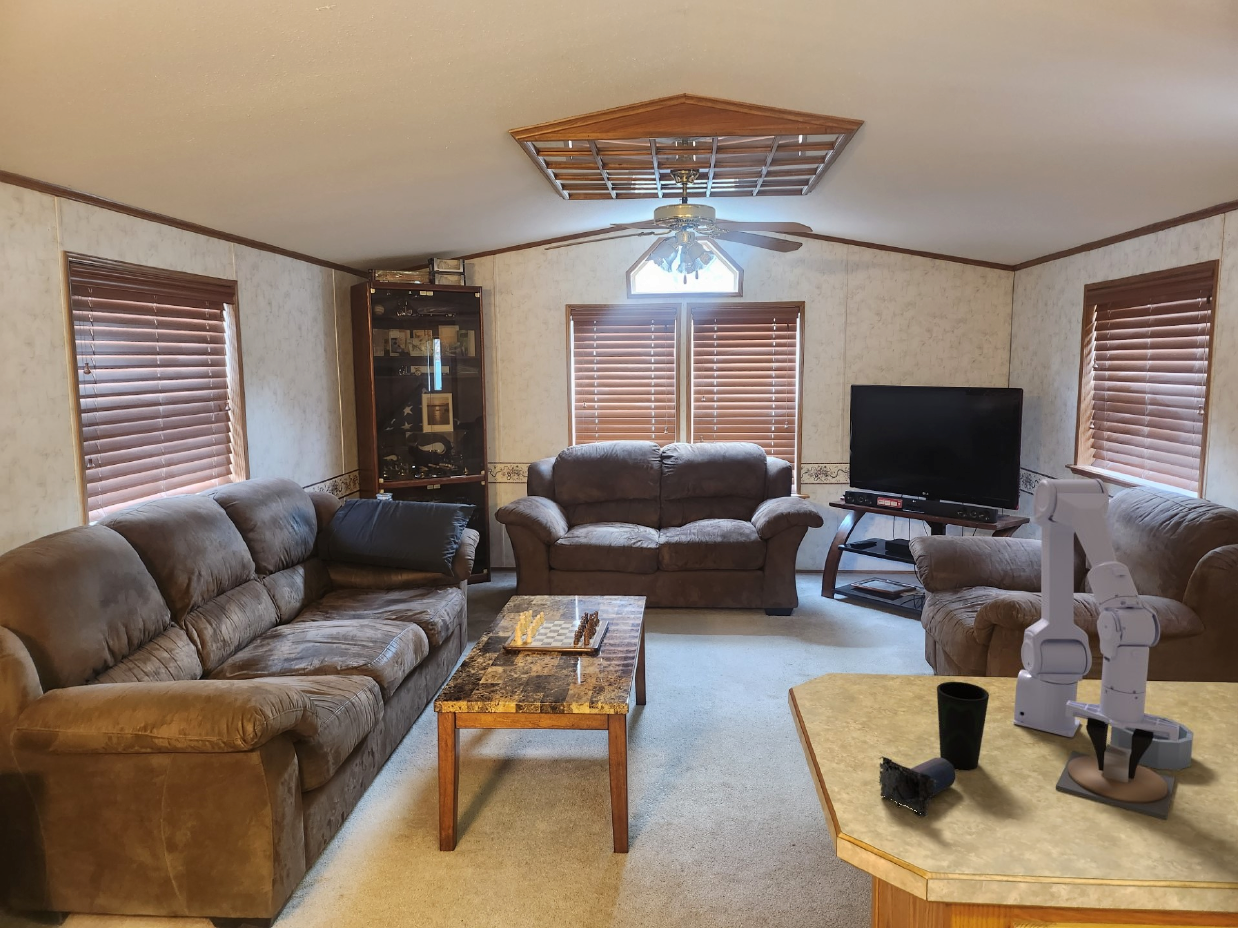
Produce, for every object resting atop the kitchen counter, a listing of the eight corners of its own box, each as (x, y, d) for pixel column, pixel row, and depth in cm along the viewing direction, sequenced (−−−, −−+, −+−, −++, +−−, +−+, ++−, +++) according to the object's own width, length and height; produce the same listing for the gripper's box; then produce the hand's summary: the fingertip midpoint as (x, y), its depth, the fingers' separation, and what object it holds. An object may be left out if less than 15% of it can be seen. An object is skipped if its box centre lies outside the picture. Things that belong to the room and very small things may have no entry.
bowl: (1106, 755, 137) (1108, 729, 136) (1116, 731, 145) (1117, 707, 145) (1187, 776, 130) (1190, 748, 129) (1192, 749, 139) (1195, 723, 138)
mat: (1055, 788, 126) (1055, 785, 126) (1072, 753, 137) (1072, 750, 137) (1166, 819, 118) (1166, 815, 118) (1174, 779, 129) (1175, 776, 129)
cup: (985, 756, 137) (989, 685, 135) (984, 777, 130) (988, 703, 128) (935, 747, 140) (938, 678, 138) (931, 767, 133) (934, 695, 131)
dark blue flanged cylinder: (922, 829, 118) (962, 803, 126) (936, 781, 117) (975, 758, 125) (867, 793, 125) (908, 770, 133) (879, 747, 123) (920, 727, 131)
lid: (1060, 785, 126) (1062, 754, 126) (1075, 752, 137) (1077, 724, 136) (1162, 812, 118) (1165, 780, 118) (1170, 776, 129) (1173, 746, 128)
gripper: (1064, 682, 127) (1058, 767, 129) (1179, 706, 118) (1171, 797, 120) (1072, 669, 132) (1067, 750, 134) (1183, 691, 124) (1175, 778, 125)
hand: (1116, 771), depth 127 cm, fingers closed on lid, 3 cm apart
